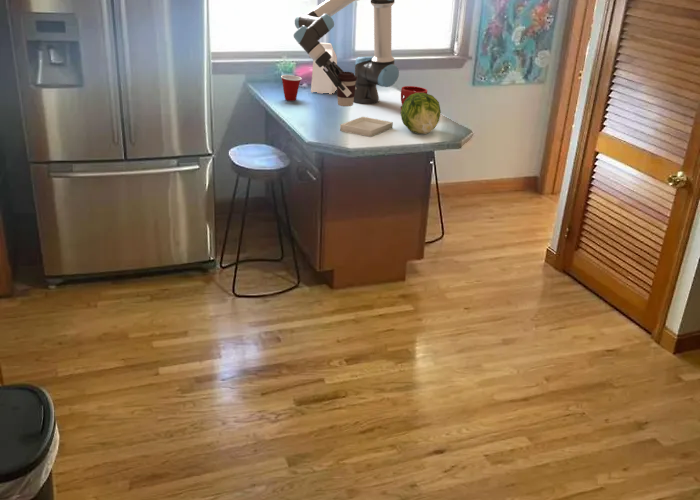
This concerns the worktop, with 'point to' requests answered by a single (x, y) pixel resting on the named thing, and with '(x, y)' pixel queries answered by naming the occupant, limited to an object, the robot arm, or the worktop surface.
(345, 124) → the tray
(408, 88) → the plant pot
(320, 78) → the milk
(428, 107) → the lettuce
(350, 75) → the coffee cup
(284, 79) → the plastic cup
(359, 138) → the worktop surface
